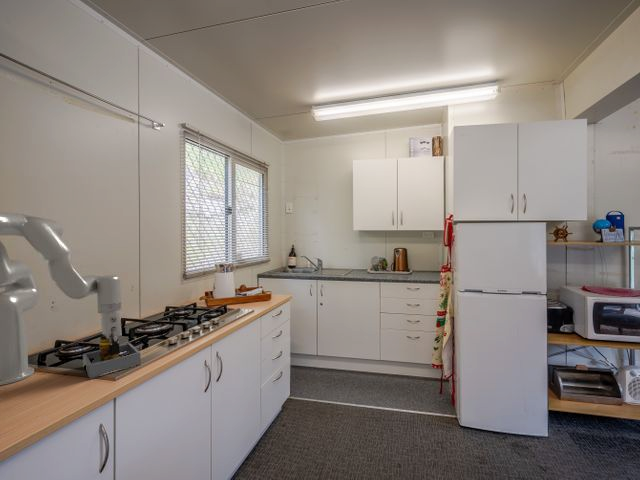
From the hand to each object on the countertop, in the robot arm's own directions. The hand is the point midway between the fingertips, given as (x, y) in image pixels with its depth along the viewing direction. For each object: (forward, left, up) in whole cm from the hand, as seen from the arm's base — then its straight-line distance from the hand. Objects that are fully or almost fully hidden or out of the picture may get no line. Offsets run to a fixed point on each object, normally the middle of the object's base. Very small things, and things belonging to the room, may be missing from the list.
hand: (111, 351), depth 120 cm
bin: (0, 0, -6) cm, 6 cm away
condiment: (0, +1, -6) cm, 6 cm away
